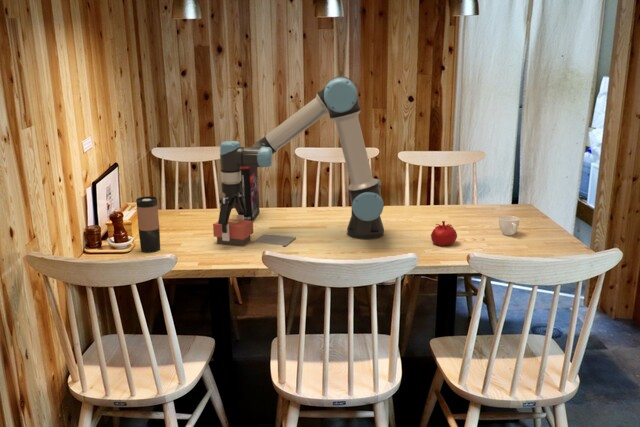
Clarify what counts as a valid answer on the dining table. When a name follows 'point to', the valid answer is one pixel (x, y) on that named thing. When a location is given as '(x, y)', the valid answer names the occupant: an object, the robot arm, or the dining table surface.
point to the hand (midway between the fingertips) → (233, 235)
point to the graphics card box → (250, 192)
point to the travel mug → (148, 224)
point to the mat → (275, 239)
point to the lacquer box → (234, 241)
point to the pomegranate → (443, 235)
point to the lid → (235, 229)
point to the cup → (508, 225)
